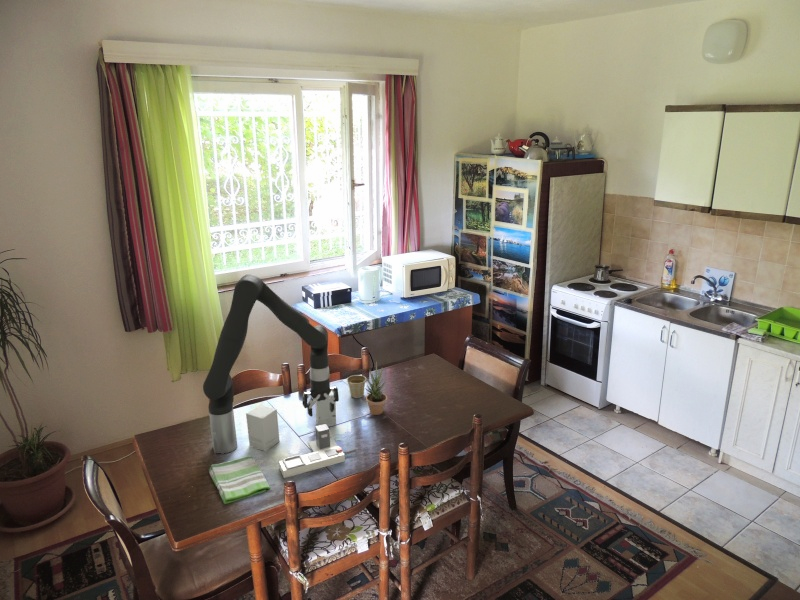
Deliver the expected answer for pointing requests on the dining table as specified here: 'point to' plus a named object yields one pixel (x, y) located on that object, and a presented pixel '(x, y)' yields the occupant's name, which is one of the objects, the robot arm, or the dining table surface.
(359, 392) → the flower pot
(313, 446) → the mat
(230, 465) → the dish towel
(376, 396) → the potted plant
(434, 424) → the dining table surface
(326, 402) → the skincare box
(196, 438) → the dining table surface
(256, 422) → the supplement box
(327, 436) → the charger
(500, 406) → the dining table surface
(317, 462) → the power strip
